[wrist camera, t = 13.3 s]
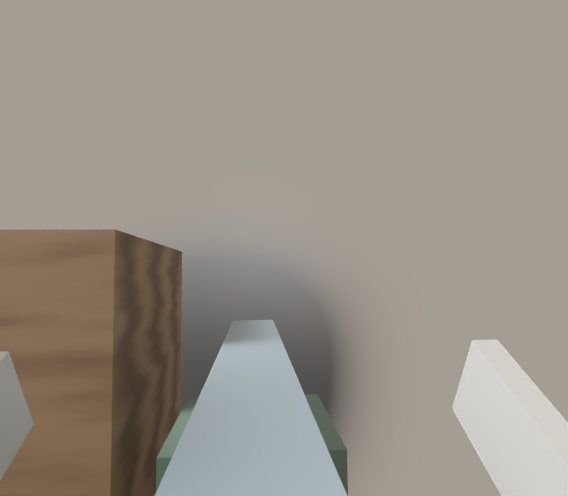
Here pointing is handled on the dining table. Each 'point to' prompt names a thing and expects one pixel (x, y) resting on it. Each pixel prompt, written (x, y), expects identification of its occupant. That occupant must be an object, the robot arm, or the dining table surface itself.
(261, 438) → the rod
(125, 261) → the stand
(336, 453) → the post
